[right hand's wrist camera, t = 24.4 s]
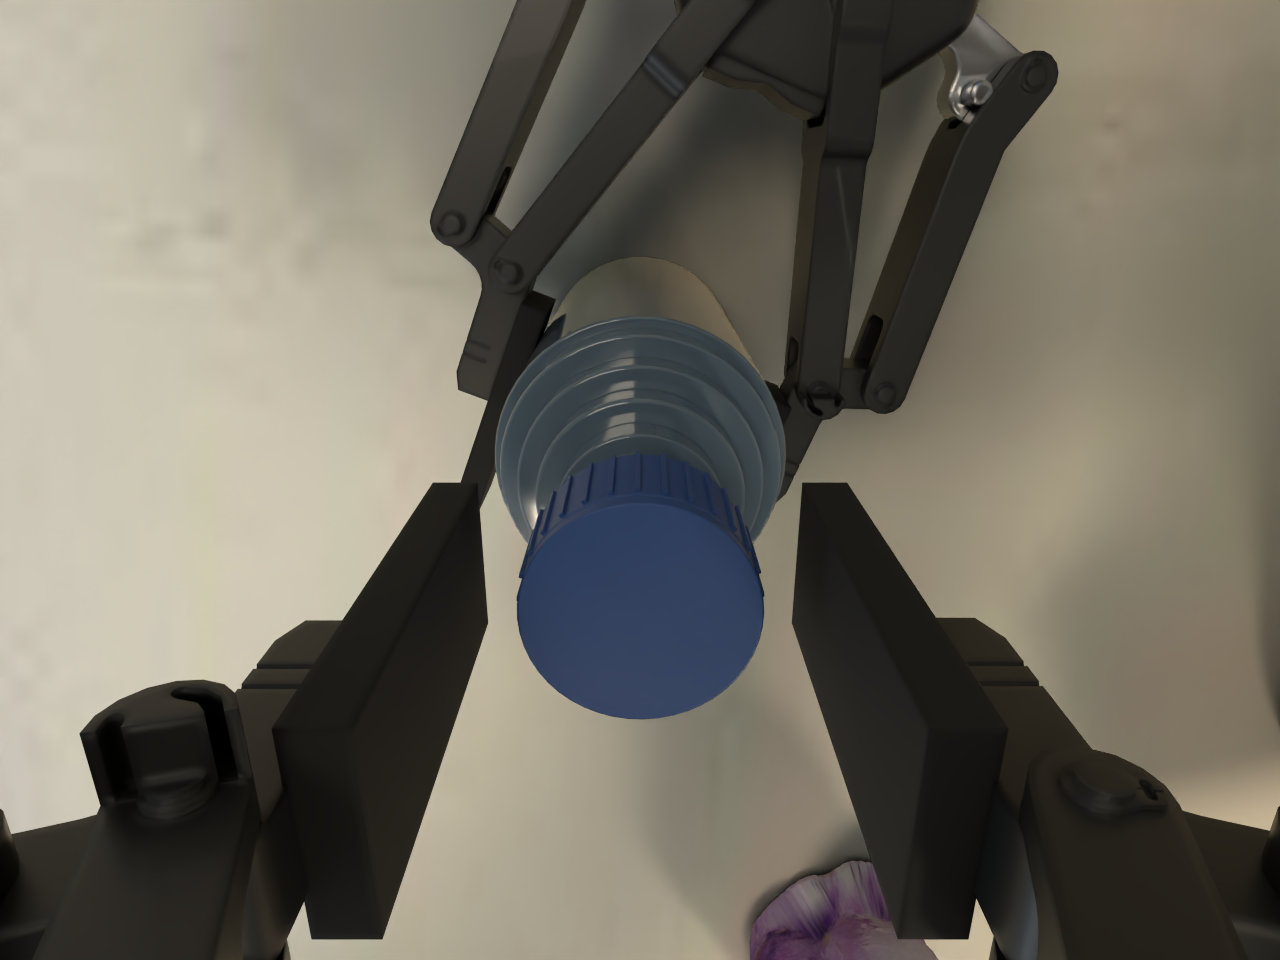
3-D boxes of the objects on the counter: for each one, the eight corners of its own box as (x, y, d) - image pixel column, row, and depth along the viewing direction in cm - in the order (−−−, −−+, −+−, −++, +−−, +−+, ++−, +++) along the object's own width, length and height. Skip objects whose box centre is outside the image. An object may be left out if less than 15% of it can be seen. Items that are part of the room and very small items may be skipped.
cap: (614, 405, 13) (609, 448, 11) (794, 531, 14) (820, 592, 12) (489, 574, 15) (464, 641, 12) (663, 682, 15) (667, 762, 13)
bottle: (617, 218, 29) (583, 295, 11) (765, 327, 30) (939, 546, 13) (516, 369, 31) (353, 636, 13) (660, 465, 32) (685, 823, 15)
